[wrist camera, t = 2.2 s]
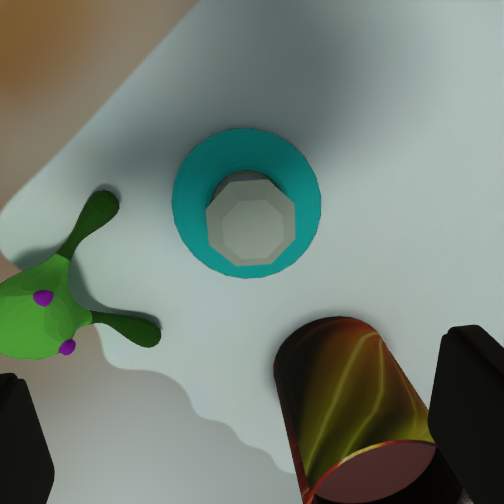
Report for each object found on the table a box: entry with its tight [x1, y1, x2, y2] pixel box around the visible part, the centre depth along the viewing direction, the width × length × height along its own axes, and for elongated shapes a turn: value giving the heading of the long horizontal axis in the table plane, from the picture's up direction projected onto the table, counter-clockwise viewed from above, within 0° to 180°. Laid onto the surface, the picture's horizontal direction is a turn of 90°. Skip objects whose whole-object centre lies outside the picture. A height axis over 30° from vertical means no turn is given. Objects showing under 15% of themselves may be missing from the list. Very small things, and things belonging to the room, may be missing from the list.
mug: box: [274, 316, 466, 504], centre depth 30 cm, size 10×14×12 cm
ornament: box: [172, 128, 321, 279], centre depth 27 cm, size 11×4×10 cm
